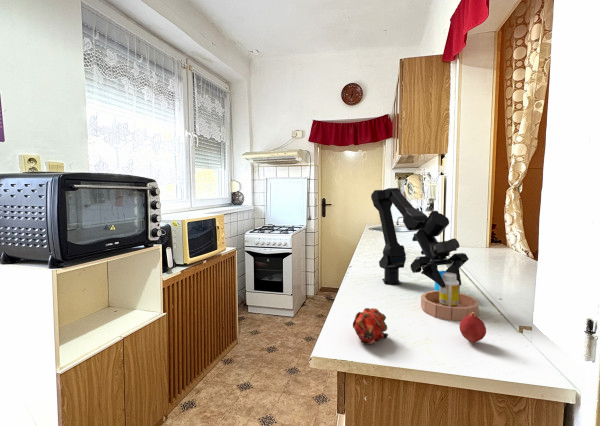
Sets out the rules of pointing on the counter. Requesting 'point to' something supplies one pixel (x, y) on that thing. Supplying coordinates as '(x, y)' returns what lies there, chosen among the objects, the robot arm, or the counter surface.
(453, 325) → the counter surface
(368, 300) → the counter surface
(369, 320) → the dragon fruit
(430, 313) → the bowl
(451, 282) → the supplement bottle
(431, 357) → the counter surface
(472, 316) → the onion
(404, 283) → the counter surface
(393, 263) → the robot arm
